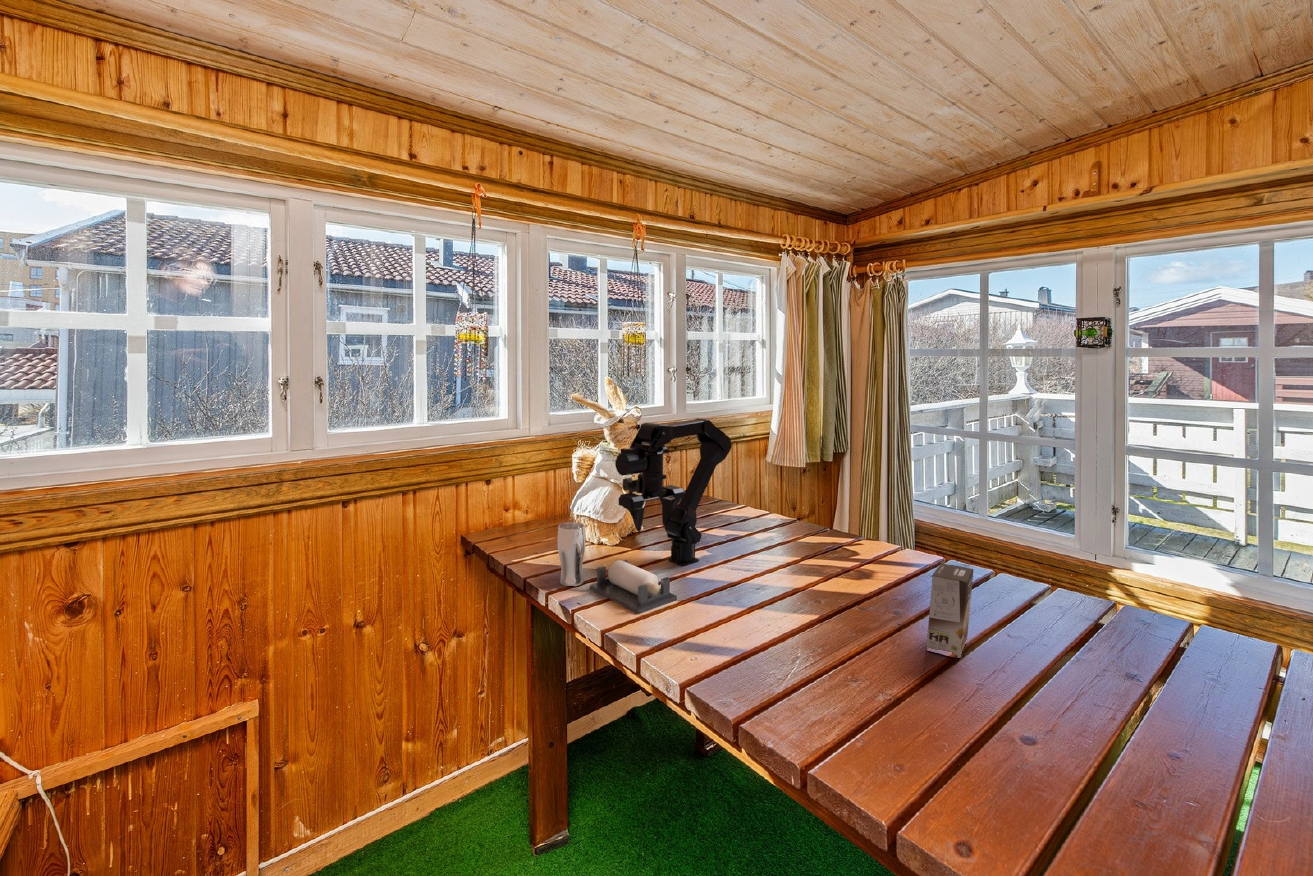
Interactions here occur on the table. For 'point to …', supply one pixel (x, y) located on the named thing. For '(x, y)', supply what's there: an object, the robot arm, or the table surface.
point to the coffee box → (950, 608)
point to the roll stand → (630, 599)
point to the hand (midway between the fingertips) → (651, 527)
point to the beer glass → (571, 552)
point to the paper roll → (632, 577)
